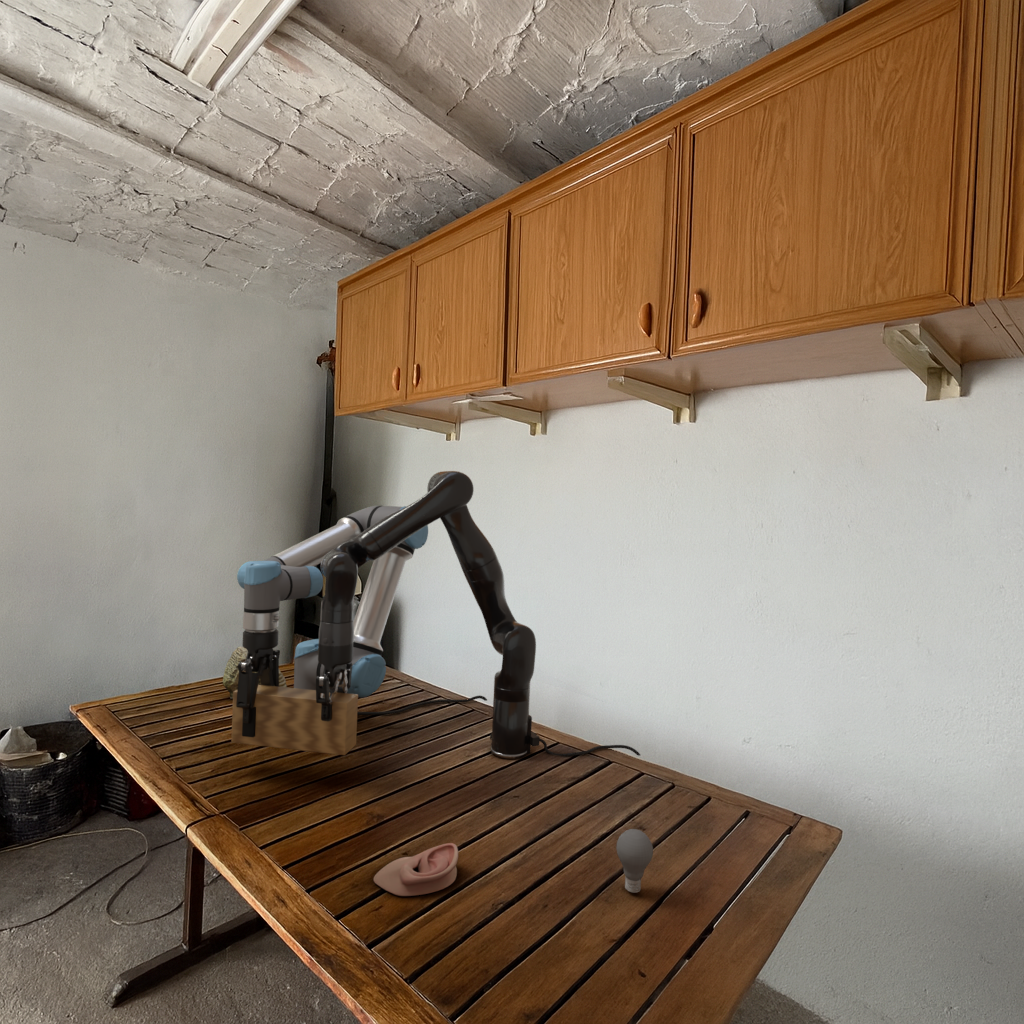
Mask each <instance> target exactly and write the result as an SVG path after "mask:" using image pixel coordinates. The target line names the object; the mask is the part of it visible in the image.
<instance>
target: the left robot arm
mask: <svg viewBox="0 0 1024 1024" xmlns="http://www.w3.org/2000/svg"><path fill="white" fill-rule="evenodd" d="M407 506H408V505H407ZM407 506H405V505H404V506H393V505H378V504H377V505H371V506H368V507H365V508H362V509H359V510H356V511H354V512H352V513H349V514H348V515H345V516H344V517H342V518H340V519H338V521H337V523H336V524H335V525H332V526H331V527H329V528H327V529H325V530H323V531H321V532H318V533H317V534H315V535H312V536H310V537H309V538H306V539H304V540H303V541H301V542H297V543H296V544H294V545H292V546H289V547H288V548H286V549H284V550H282V551H280V552H278V553H276V554H274V555H272V556H270V557H267V558H265V559H263V560H251V561H249V560H248V561H246V562H244V563H243V564H242V565H241V566H240V567H239V569H238V571H237V574H236V575H237V576H236V579H237V584H238V585H239V587H240V588H242V589H243V597H244V598H243V616H242V618H243V619H242V622H243V623H242V628H243V629H244V630H243V632H242V647H244V648H246V649H247V650H248V653H247V657H246V661H245V662H239V663H238V670H239V678H238V690H237V702H236V707H239V708H242V709H243V719H242V721H243V723H242V736H245V737H255V727H256V707H254V703H255V698H256V693H257V688H258V683H259V678H260V681H261V685H267V686H277V687H279V670H280V654H281V651H280V650H281V649H274V648H276V647H278V645H279V630H278V628H279V624H280V623H279V621H280V619H281V617H280V607H281V606H280V605H281V602H283V601H287V600H288V601H290V600H298V599H308V598H311V597H315V596H317V595H319V593H321V591H322V589H323V586H324V577H323V574H322V572H321V569H319V568H318V567H316V566H318V565H319V564H320V565H321V561H322V559H323V557H324V556H325V555H326V554H327V553H328V552H330V551H331V550H332V549H334V548H336V547H338V546H339V545H341V544H343V543H345V542H347V541H349V540H351V539H353V538H355V537H357V536H358V535H359V534H361V533H362V532H363V531H365V530H366V529H368V528H369V527H371V526H372V525H374V524H375V523H377V522H378V521H380V520H381V519H383V518H385V517H387V516H388V515H390V514H392V513H395V512H397V511H399V510H401V509H403V508H405V507H407ZM428 537H429V524H428V525H427V526H425V527H423V528H422V529H420V530H419V531H417V532H416V533H414V534H413V535H411V536H410V537H408V538H407V539H406V540H404V541H403V542H401V543H400V544H399V545H397V546H396V547H394V548H393V549H391V550H390V551H389V552H387V553H386V554H384V555H383V556H381V557H380V558H378V559H376V560H374V561H372V565H371V568H370V570H369V574H368V576H367V580H366V583H365V586H364V589H363V592H362V595H361V598H360V601H359V604H358V607H357V610H356V612H355V615H354V618H353V626H354V641H353V660H352V662H350V663H352V675H351V687H350V689H347V693H349V694H358V698H360V699H361V698H367V697H370V696H372V694H373V693H376V692H377V690H379V688H380V687H381V685H382V684H383V682H384V680H385V678H386V673H387V667H386V665H387V663H386V660H385V659H384V657H382V656H383V653H384V649H383V647H382V645H381V640H382V637H383V635H384V631H385V628H386V625H387V621H388V618H389V615H390V612H391V609H392V606H393V602H394V599H395V596H396V593H397V590H398V586H399V584H400V582H401V581H400V580H401V577H402V573H403V571H404V568H405V564H406V562H407V561H409V560H411V559H412V558H413V557H414V554H415V551H416V550H418V549H421V548H422V547H423V546H425V545H426V543H427V541H428ZM318 642H319V638H313V639H308V640H304V641H302V642H299V643H298V644H297V645H296V646H295V652H294V653H295V654H294V657H293V659H294V660H293V662H294V663H293V665H294V667H293V688H297V689H308V690H316V677H317V676H322V675H323V671H324V665H323V664H321V663H319V662H318ZM252 672H257V673H252ZM329 689H333V688H329ZM467 699H468V700H467ZM477 699H480V700H483V701H484V702H485V701H488V699H487V698H486V697H485V696H484V695H476V696H472V697H469V698H464V699H444V698H443V699H433V700H427V701H422V702H418V703H414V704H411V705H408V706H405V707H403V708H400V709H395V710H389V711H388V710H386V711H357V716H382V715H383V716H385V715H395V714H399V713H403V712H406V711H408V710H410V709H413V708H417V707H421V706H425V705H429V704H436V703H437V704H439V703H468V702H471V701H474V700H477Z"/></svg>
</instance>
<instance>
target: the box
mask: <svg viewBox="0 0 1024 1024" xmlns="http://www.w3.org/2000/svg"><path fill="white" fill-rule="evenodd" d="M321 694H322V693H321ZM329 697H330V693H329ZM236 702H237V690H236V691H234V692H233V698H232V711H231V712H232V713H231V714H232V716H231V717H232V718H231V743H232V744H233V743H234V744H240V745H241V744H242V745H250V746H260V747H269V748H275V749H276V748H277V749H285V750H294V751H303V752H313V753H320V754H321V753H322V754H329V755H339V756H346V755H347V754H348V753H349V751H351V750H352V749H353V748H354V747H355V746H356V745H357V735H358V734H357V733H358V732H357V731H358V715H357V712H359V710H358V707H359V697H358V694H349V693H338V692H337V693H336V694H334V698H333V702H332V719H331V720H330V721H322V720H321V706H322V704H321V703H316V690H308V689H297V688H294V687H288V686H287V687H277V686H267V685H258V688H257V693H256V698H255V703H254V707H256V727H255V737H245V736H242V723H243V721H242V719H243V709H242V708H239V707H236Z"/></svg>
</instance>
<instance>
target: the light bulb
mask: <svg viewBox="0 0 1024 1024" xmlns="http://www.w3.org/2000/svg"><path fill="white" fill-rule="evenodd" d="M615 849H616V854H617V857H618V859H619V861H620V863H621V865H622V867H623V873H624V874H623V875H624V876H625V878H624V888H625V890H627V891H628V892H630V893H634V894H635V893H639V892H640V891H641V889H642V887H641V886H642V879H643V877H644V875H645V871H646V868H647V867H648V866H649V864H650V863H651V861H652V859H653V855H654V847H653V843H652V841H651V838H649V836H648V835H647V834H646V833H645V832H643V831H642V830H641V829H636V828H629V829H627V830H625V831H623V832H622V833H621V834H620V835H619V837H618V839H617V841H616V847H615Z"/></svg>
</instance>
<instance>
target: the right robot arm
mask: <svg viewBox="0 0 1024 1024" xmlns="http://www.w3.org/2000/svg"><path fill="white" fill-rule="evenodd" d="M474 492H475V491H474V483H473V481H472V479H471V478H470V477H469V476H468V475H467V474H466V473H464V472H461V471H458V470H444V471H438V472H436V473H434V474H433V475H432V476H431V477H430V479H429V480H428V483H427V492H426V493H425V494H424V495H422V497H420V498H418V499H417V500H416V501H414V502H412V503H410V504H408V505H407V507H405V508H403V509H401V510H399V511H397V512H395V513H392V514H390V515H388V516H387V517H385V518H383V519H381V520H380V521H378V522H377V523H375V524H374V525H372V526H371V527H369V528H368V529H366V530H365V531H363V532H362V533H361V534H359V535H358V536H357V537H355V538H353V539H351V540H349V541H347V542H345V543H343V544H341V545H339V546H338V547H336V548H334V549H332V550H331V551H330V552H328V553H327V554H326V555H325V556H324V557H323V559H322V561H321V563H320V572H321V574H322V576H324V578H325V583H324V595H323V596H322V599H321V604H320V622H319V628H318V639H319V642H318V662H319V663H321V664H323V665H324V671H323V675H322V676H317V677H316V703H321V704H322V706H321V720H322V721H330V720H331V719H332V702H333V698H334V694H336V693H337V692H338V693H347V689H350V687H351V675H352V663H350V662H352V660H353V641H354V626H353V622H354V612H355V611H354V610H355V606H354V605H355V602H354V600H355V595H356V590H357V584H358V577H359V568H360V567H362V566H364V565H366V564H367V563H369V562H374V560H376V559H378V558H380V557H381V556H383V555H384V554H386V553H387V552H389V551H390V550H391V549H393V548H394V547H396V546H397V545H399V544H400V543H401V542H403V541H404V540H406V539H407V538H408V537H410V536H411V535H413V534H414V533H416V532H417V531H419V530H420V529H422V528H423V527H425V526H427V525H428V526H429V525H430V524H432V523H433V522H436V521H438V520H439V519H440V521H441V522H442V524H443V527H444V528H445V530H446V532H447V535H448V538H449V540H450V543H451V546H452V548H453V550H454V553H455V555H456V558H457V560H458V563H459V565H460V568H461V570H462V571H461V572H462V573H463V575H464V578H465V580H466V582H467V584H468V587H469V588H470V590H471V593H472V595H473V597H474V600H475V601H476V604H477V606H478V607H479V609H480V612H481V614H482V617H483V620H484V623H485V627H486V630H487V634H488V636H489V639H490V643H491V645H492V647H493V649H494V650H495V652H497V653H498V655H501V656H502V660H501V669H500V670H498V671H497V672H495V674H494V677H493V678H494V680H493V701H492V702H493V703H492V722H491V723H492V724H491V725H492V727H491V729H492V730H491V733H490V734H489V739H490V740H491V743H490V745H491V746H490V753H491V754H492V755H493V756H495V757H498V758H499V759H500V758H501V759H507V760H515V759H521V758H525V757H526V756H527V755H531V747H539V746H540V743H541V744H542V745H543V750H544V751H545V752H546V753H547V754H548V755H552V756H558V757H574V756H584V755H588V754H591V753H592V752H595V751H597V750H605V749H606V750H607V749H625V750H629V751H631V752H632V753H634V754H635V755H636V756H638V757H639V756H641V753H640V752H639V751H638V750H636V749H635V748H633V747H631V746H629V745H627V744H626V745H624V744H609V745H607V744H606V745H597V746H594V747H592V748H590V749H588V750H584V751H576V752H568V753H556V752H553V751H550V750H549V749H548V745H547V742H546V741H545V740H544V739H542V738H541V737H540V736H539V735H537V733H535V732H533V731H532V727H533V725H532V724H533V717H532V715H530V699H531V698H530V695H531V680H532V678H533V676H534V673H535V664H536V655H537V654H536V653H537V640H536V639H537V637H536V635H535V633H534V631H533V629H532V628H530V627H529V626H527V625H525V624H523V623H520V622H518V621H517V620H516V618H515V616H514V614H513V613H512V610H511V609H510V607H509V604H508V601H507V599H506V592H505V576H504V571H503V568H502V566H501V562H500V561H499V558H498V556H497V553H496V551H495V549H494V547H493V546H492V544H491V542H490V541H489V539H488V538H487V537H486V535H485V534H484V533H483V531H482V530H481V529H480V527H479V526H478V525H477V524H476V522H475V521H474V519H473V516H472V515H471V513H470V509H469V507H468V504H469V503H470V502H471V500H472V498H473V495H474ZM329 688H333V689H329ZM321 693H322V694H321ZM329 693H330V697H329Z"/></svg>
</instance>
